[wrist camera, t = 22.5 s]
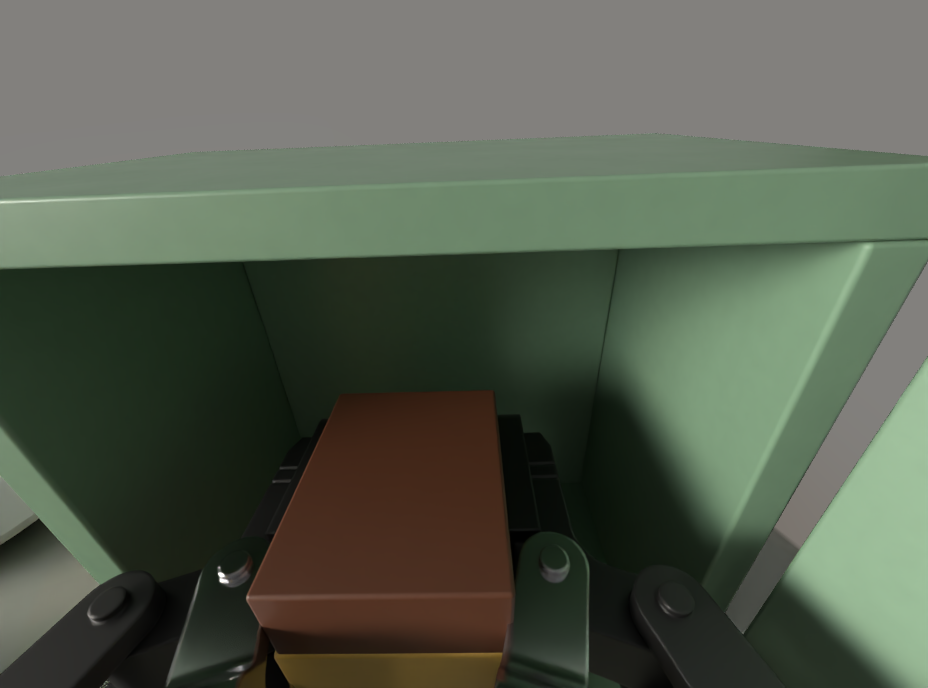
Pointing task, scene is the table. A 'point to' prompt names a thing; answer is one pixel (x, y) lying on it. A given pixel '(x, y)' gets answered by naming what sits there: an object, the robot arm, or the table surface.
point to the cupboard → (447, 327)
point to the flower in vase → (13, 513)
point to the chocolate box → (394, 548)
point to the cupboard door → (861, 571)
